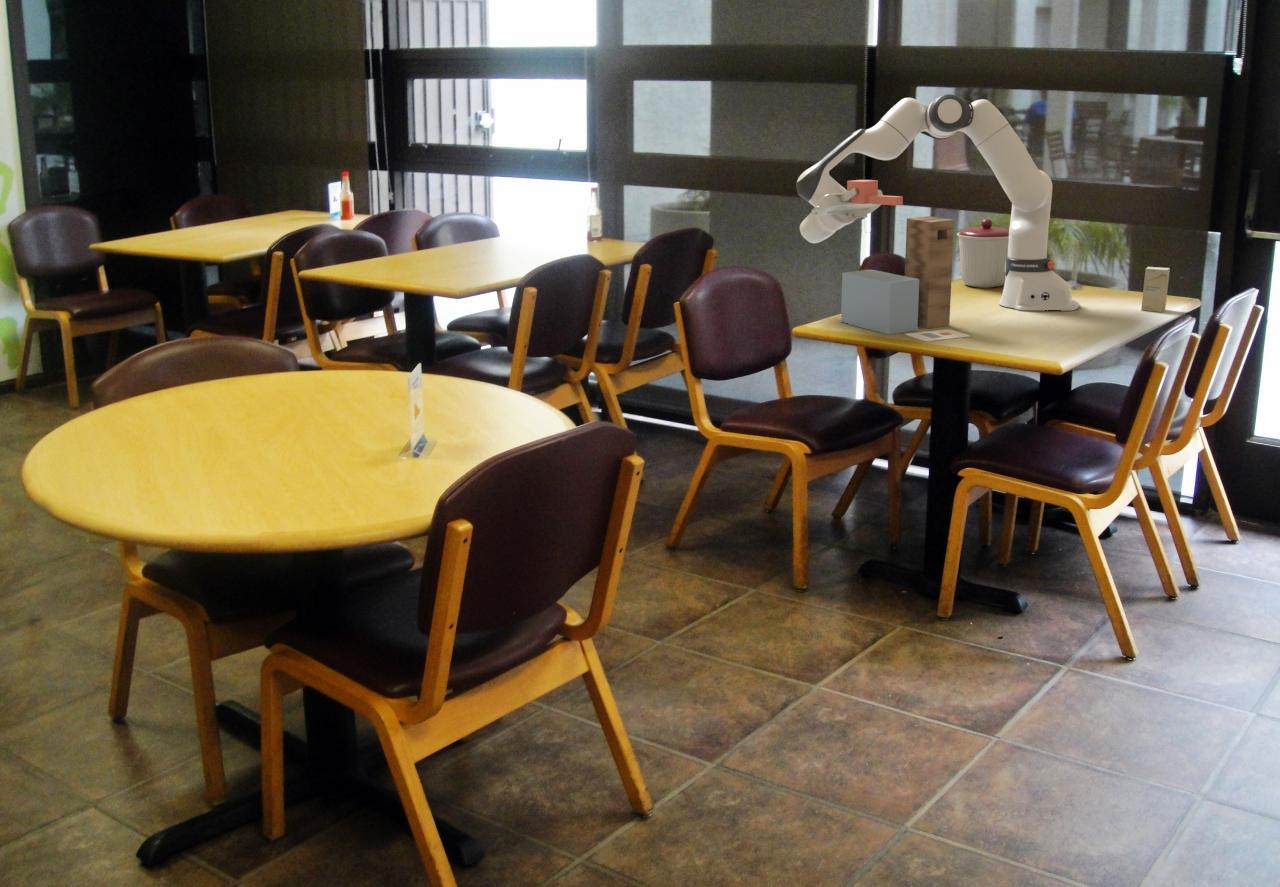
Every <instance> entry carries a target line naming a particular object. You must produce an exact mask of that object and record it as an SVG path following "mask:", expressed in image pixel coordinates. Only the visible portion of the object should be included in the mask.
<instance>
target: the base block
mask: <svg viewBox="0 0 1280 887" xmlns="http://www.w3.org/2000/svg"><path fill="white" fill-rule="evenodd" d="M918 300H919V279H916V278H911V277H906V276H905V275H900V274H897V273H895V274H894V273H890V272H885V271H881V270H875V269H862V270H855V271H845V272H842V274H841V305H840V306H841V309H840V310H841V312H840V313H841V314H840V315H841V317H840V323H842V322H844V323H843V324H846V323H848V324H847V325H850V324H851V325H850V326H853V325H854V327H857V326H858V328H862V329H866V330H870V331H873V332H877V331H878V333H881V332H882V333H881V334H885V333H886V334H885V335H888V334H890V335H895V334H894V333H896V334H900V333H902V332H903V333H908V332H909V333H910V332H915V330H916V331H918ZM903 333H902V334H903Z"/></svg>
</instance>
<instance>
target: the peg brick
mask: <svg viewBox="0 0 1280 887" xmlns="http://www.w3.org/2000/svg"><path fill="white" fill-rule="evenodd" d="M846 184H847V185H846V190H847V192H848V191H850V190H852V189H853V188H858V191H859V194H858V195H857V196H854V197H852V198H850V199H849V200H848V201H849V202H851V203H856V204H881V205H880V206H882V205H883V206H884V205H885V206H903V205H904V201H903V200H904V199H903V198H904V197H903V196H901V195H899V196H898V195H884V194H883V195H878V190H879V186H878V185H879V180H877V179H876V180H874V179H856V180H847V181H846Z"/></svg>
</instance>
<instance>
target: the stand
mask: <svg viewBox="0 0 1280 887" xmlns="http://www.w3.org/2000/svg"><path fill="white" fill-rule="evenodd" d="M905 226H906V227H905V228H906V229H905V254H904V256H905V258H904V276H906V277H911V278H916V279H919V300H918V326H917V328H923V329H926V328H927V329H928V328H929V329H934V328H941V327H940V326H942V327H948V326H950V319H951V297H952V296H951V294H952V277H953V274H952V273H953V256H954V255H953V252H954V235H955V234H954V233H955V232H954V230H955V229H954V228H955V219H950V218H944V217H936V216H929V215H928V216H916V217H910V218H909V217H908V218H906V225H905ZM947 325H948V326H947Z"/></svg>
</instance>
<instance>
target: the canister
mask: <svg viewBox="0 0 1280 887" xmlns="http://www.w3.org/2000/svg"><path fill="white" fill-rule="evenodd" d="M993 224H994V223H993V221H992V220H991V219H990V218H984V219H982V220H981V223H980V226H974V227H972V226H971V227H966V228H963V229H962V230H960V231H959V232H957V233H956V235H957V237H958V240H959V241H958V244H959V246H958V247H959V261H960V272H961V279H962V281H963V283H964V284H965V285H966V286H968V287H974V288H997V287H1001V286H1002V285H1004V284H1005V278H1006V276H1005V260H1006V257H1007V256H1008V240H1009V228H1004V227H998V226H993Z"/></svg>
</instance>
